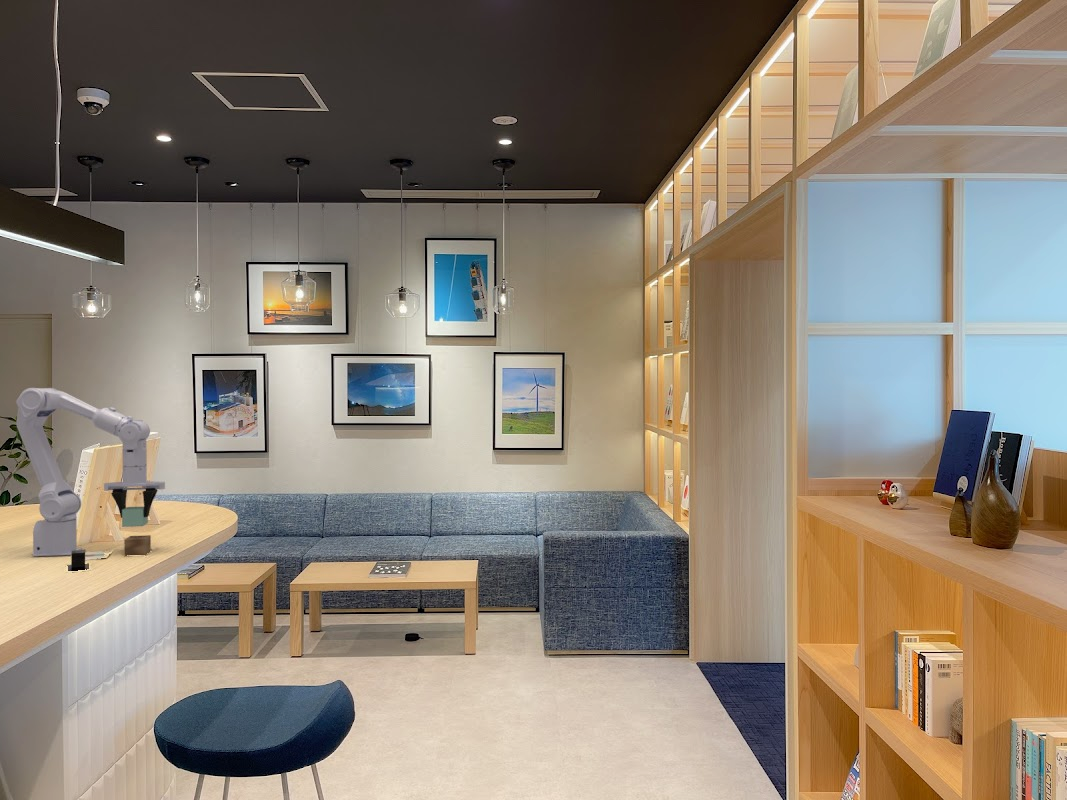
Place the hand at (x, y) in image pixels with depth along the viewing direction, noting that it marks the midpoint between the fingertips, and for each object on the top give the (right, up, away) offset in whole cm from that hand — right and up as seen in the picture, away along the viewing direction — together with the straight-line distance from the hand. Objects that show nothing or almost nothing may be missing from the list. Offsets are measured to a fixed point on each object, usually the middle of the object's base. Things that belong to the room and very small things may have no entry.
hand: (134, 517), depth 208 cm
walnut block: (+1, -10, -1) cm, 10 cm away
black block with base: (-5, -11, -18) cm, 21 cm away
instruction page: (-8, -10, -4) cm, 13 cm away
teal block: (0, -2, 0) cm, 2 cm away
